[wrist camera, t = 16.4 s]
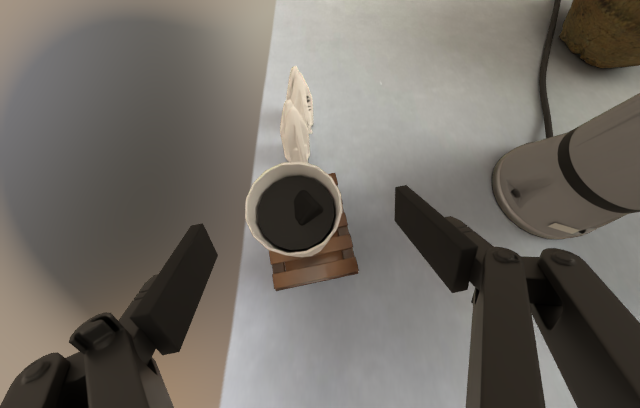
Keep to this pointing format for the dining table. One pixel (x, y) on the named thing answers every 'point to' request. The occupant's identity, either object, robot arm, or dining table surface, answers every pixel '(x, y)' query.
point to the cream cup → (293, 209)
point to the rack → (317, 260)
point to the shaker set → (297, 119)
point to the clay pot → (604, 32)
